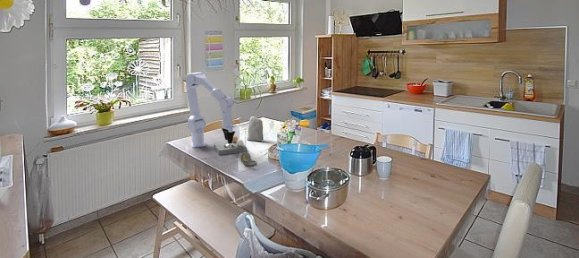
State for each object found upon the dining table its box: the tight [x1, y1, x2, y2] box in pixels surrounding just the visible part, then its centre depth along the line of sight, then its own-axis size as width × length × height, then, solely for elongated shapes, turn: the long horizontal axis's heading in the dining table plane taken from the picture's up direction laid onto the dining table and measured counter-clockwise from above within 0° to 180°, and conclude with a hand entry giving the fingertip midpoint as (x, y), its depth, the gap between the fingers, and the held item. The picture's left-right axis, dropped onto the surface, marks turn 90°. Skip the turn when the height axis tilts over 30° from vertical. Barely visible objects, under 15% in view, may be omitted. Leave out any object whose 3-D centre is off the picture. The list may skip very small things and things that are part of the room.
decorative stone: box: [246, 115, 264, 142], centre depth 235 cm, size 11×6×15 cm, turn 58°
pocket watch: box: [239, 148, 257, 167], centre depth 191 cm, size 8×8×10 cm
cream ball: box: [236, 138, 244, 146], centre depth 215 cm, size 4×4×4 cm
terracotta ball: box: [232, 135, 239, 142], centre depth 223 cm, size 4×4×4 cm
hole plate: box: [212, 140, 248, 156], centre depth 219 cm, size 17×16×2 cm
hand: (228, 141), depth 215 cm, fingers open, 7 cm apart
